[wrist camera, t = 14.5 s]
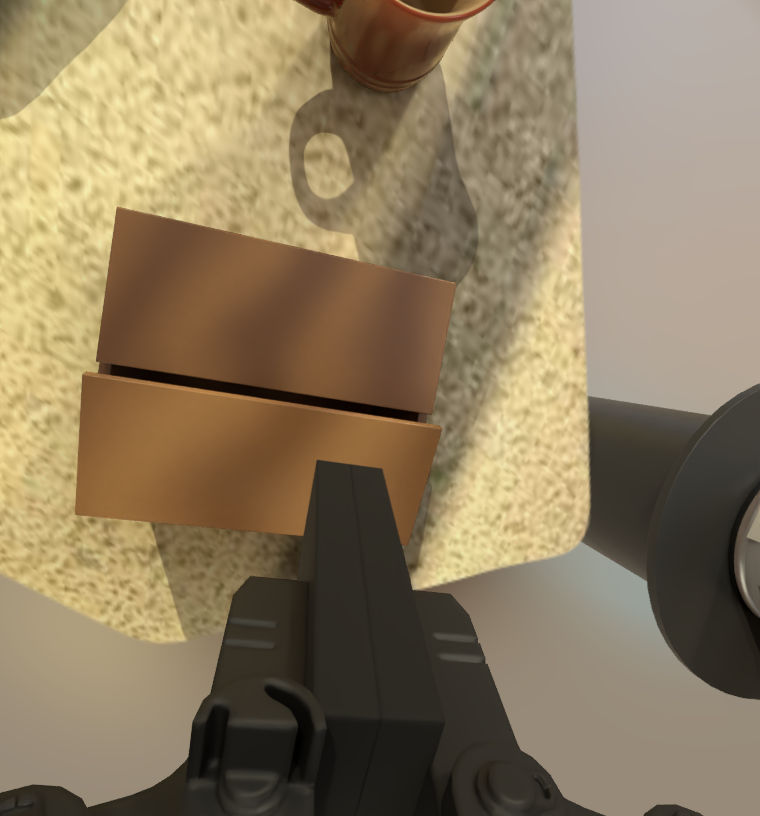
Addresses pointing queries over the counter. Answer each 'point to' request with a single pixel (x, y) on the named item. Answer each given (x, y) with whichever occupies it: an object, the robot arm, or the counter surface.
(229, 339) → the carton
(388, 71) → the mug
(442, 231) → the counter surface
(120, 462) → the flap
